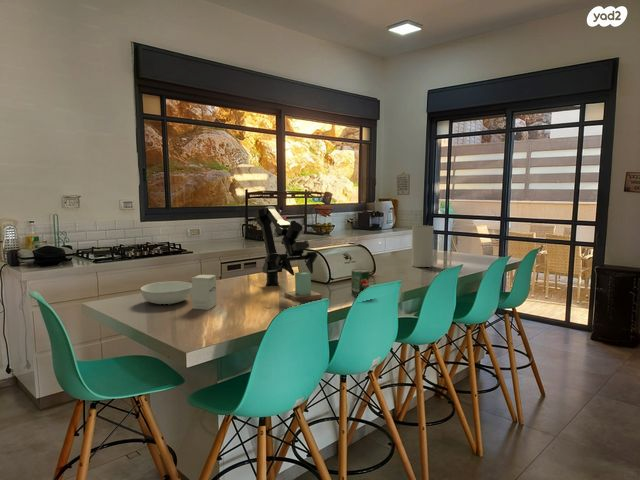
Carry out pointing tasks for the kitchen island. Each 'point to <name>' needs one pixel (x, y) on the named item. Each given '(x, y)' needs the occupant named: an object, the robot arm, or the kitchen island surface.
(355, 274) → the canned tomato
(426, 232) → the cylinder vase
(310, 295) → the walnut board
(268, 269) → the robot arm
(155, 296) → the serving bowl
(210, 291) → the supplement box
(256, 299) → the kitchen island surface
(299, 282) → the teal block
